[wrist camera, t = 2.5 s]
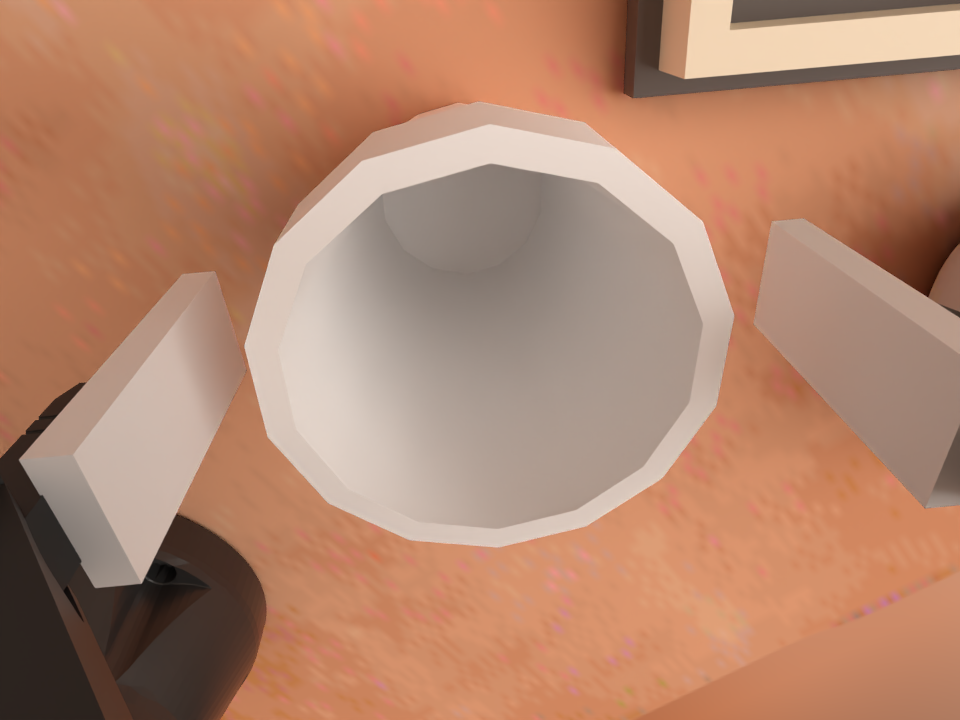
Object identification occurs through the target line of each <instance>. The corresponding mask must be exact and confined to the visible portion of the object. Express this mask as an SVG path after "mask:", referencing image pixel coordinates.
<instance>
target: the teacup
mask: <svg viewBox="0 0 960 720" xmlns="http://www.w3.org/2000/svg"><path fill="white" fill-rule="evenodd" d="M928 298H929V299H931V300H933V301H934V302H936V303H938V304H940V305H943V306H946V307H948V308H951V309H954V310H957V311H959V312H960V243H959V244H958V245H957V247H956V248H955V249H954V250H953V251H952V253H951V254H950V255H949V257H948V258H947V260H946V261H945V263H944V265H943V266H942V268H941V270H940V271H939V274H938V276H937V278H936V280H935V282H934V284H933V287H932V289H931V292H930V294H929V297H928Z"/></svg>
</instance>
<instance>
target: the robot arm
mask: <svg viewBox="0 0 960 720" xmlns="http://www.w3.org/2000/svg"><path fill="white" fill-rule="evenodd" d="M753 324H754V325H755V326H756V328H757V329H758V330H759V331H760V332H761V333H762V334H763V335H764V336H765V337H766V338H767V339H768V340H769V342H770V343H771V344H772V345H773V346H774V347H775V348H776V349H777V350H778V351H779V352H780V353H781V354H782V355H783V357H784V358H785V359H786V360H787V361H788V362H789V363H790V364H791V365H792V366H793V367H794V368H795V369H796V370H797V372H798V373H799V374H800V375H801V376H802V377H803V378H804V379H805V380H806V381H807V382H808V383H809V384H810V385H811V387H812V388H813V389H814V390H815V391H816V392H817V393H818V394H819V395H820V396H821V397H822V398H823V399H824V401H825V402H826V403H827V404H828V405H829V406H830V407H831V408H832V409H833V410H834V411H835V412H836V413H837V414H838V416H839V417H840V418H841V419H842V420H843V421H844V422H845V423H846V424H847V425H848V426H849V427H850V428H851V429H852V431H853V432H854V433H855V434H856V435H857V436H858V437H859V438H860V439H861V440H862V441H863V442H864V443H865V445H866V446H867V447H868V448H869V449H870V450H871V451H872V452H873V453H874V454H875V455H876V456H877V457H878V458H879V460H880V461H881V462H882V463H883V464H884V465H885V466H886V467H887V468H888V469H889V470H890V471H891V472H892V473H893V475H894V476H895V477H896V478H897V479H898V480H899V481H900V482H901V483H902V484H903V485H904V486H905V487H906V489H907V490H908V491H909V492H910V493H911V494H912V495H913V496H914V497H915V498H916V499H917V500H918V501H919V502H920V504H921V505H922V506H923V507H924V508H935V507H945V506H956V505H960V312H959V311H957V310H954V309H951V308H948V307H946V306H943V305H940V304H938V303H936V302H934V301H933V300H931V299H929V298H928V297H926V296H925V295H923V294H922V293H920V292H918V291H917V290H915V289H914V288H912V287H911V286H909V285H907V284H906V283H904V282H903V281H901V280H900V279H898V278H896V277H895V276H893V275H892V274H890V273H889V272H887V271H885V270H884V269H882V268H881V267H879V266H878V265H876V264H874V263H873V262H871V261H870V260H868V259H867V258H865V257H864V256H862V255H860V254H859V253H857V252H856V251H854V250H853V249H851V248H849V247H848V246H846V245H845V244H843V243H842V242H840V241H838V240H837V239H835V238H834V237H832V236H831V235H829V234H827V233H826V232H824V231H823V230H821V229H820V228H818V227H816V226H815V225H813V224H812V223H810V222H809V221H807V220H805V219H804V218H803V219H791V220H780V221H772V222H771V228H770V233H769V239H768V245H767V250H766V256H765V261H764V267H763V273H762V278H761V284H760V289H759V295H758V301H757V306H756V312H755V318H754V323H753ZM246 371H247V370H246V366H245V363H244V360H243V357H242V354H241V351H240V347H239V344H238V341H237V338H236V335H235V332H234V328H233V325H232V322H231V319H230V316H229V313H228V309H227V306H226V303H225V300H224V297H223V294H222V290H221V287H220V284H219V281H218V278H217V275H216V271H210V272H199V273H187V274H182V275H181V276H180V277H179V278H178V280H177V281H176V282H175V283H174V284H173V285H172V286H171V288H170V289H169V290H168V291H167V292H166V293H165V294H164V295H163V297H162V298H161V299H160V300H159V301H158V302H157V303H156V305H155V306H154V307H153V308H152V309H151V310H150V311H149V313H148V314H147V315H146V316H145V317H144V318H143V319H142V320H141V322H140V323H139V324H138V325H137V326H136V327H135V328H134V330H133V331H132V332H131V333H130V334H129V335H128V336H127V337H126V339H125V340H124V341H123V342H122V343H121V344H120V345H119V347H118V348H117V349H116V350H115V351H114V352H113V353H112V355H111V356H110V357H109V358H108V359H107V360H106V361H105V362H104V364H103V365H102V366H101V367H100V368H99V369H98V370H97V372H96V373H95V374H94V375H93V376H92V377H91V378H90V379H89V381H88V382H86V383H79V384H78V385H76V386H74V387H73V388H71V389H70V390H68V391H67V392H65V393H64V394H62V395H61V396H59V397H58V398H56V399H55V400H54V401H53V402H52V403H51V404H50V405H49V406H48V407H47V408H46V410H45V411H44V412H43V413H42V414H41V415H40V416H39V420H35V421H34V423H33V424H32V425H31V426H30V427H29V428H28V429H27V430H26V435H22V436H21V437H20V438H19V439H18V440H17V441H16V442H15V443H14V444H13V445H12V446H11V447H10V449H9V450H8V451H7V452H6V453H5V454H4V455H3V456H2V457H1V458H0V720H220V719H221V717H222V716H223V714H224V712H225V711H226V709H227V708H228V706H229V704H230V703H231V701H232V699H233V698H234V696H235V695H236V693H237V691H238V690H239V688H240V687H241V685H242V684H243V682H244V681H245V679H246V678H247V676H248V674H249V673H250V671H251V669H252V666H253V664H254V662H255V659H256V656H257V652H258V649H259V645H260V641H261V637H262V633H263V629H264V625H265V621H266V600H265V596H264V592H263V589H262V587H261V584H260V582H259V580H258V578H257V576H256V575H255V573H254V572H253V570H252V569H251V567H250V566H249V565H248V564H247V562H246V561H245V560H244V559H243V558H242V557H241V556H240V555H239V554H238V553H237V552H236V551H235V550H234V549H233V548H232V547H231V546H229V545H228V544H227V543H226V542H224V541H223V540H222V539H220V538H219V537H217V536H216V535H215V534H213V533H211V532H210V531H208V530H206V529H205V528H203V527H201V526H199V525H197V524H195V523H193V522H191V521H189V520H187V519H185V518H183V517H180V516H178V515H176V513H177V511H178V509H179V507H180V505H181V503H182V501H183V499H184V497H185V495H186V493H187V491H188V489H189V487H190V485H191V483H192V481H193V479H194V476H195V474H196V472H197V470H198V468H199V466H200V464H201V462H202V460H203V458H204V456H205V454H206V452H207V450H208V448H209V446H210V444H211V442H212V440H213V438H214V436H215V434H216V432H217V430H218V428H219V426H220V424H221V422H222V420H223V418H224V416H225V414H226V412H227V410H228V408H229V406H230V404H231V402H232V399H233V397H234V395H235V393H236V391H237V389H238V387H239V385H240V383H241V381H242V379H243V377H244V375H245V373H246Z"/></svg>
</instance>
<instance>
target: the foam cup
mask: <svg viewBox="0 0 960 720" xmlns="http://www.w3.org/2000/svg"><path fill="white" fill-rule="evenodd" d="M733 320H734V313H733V310H732V307H731V304H730V301H729V298H728V295H727V292H726V289H725V286H724V283H723V280H722V277H721V274H720V271H719V268H718V265H717V262H716V259H715V256H714V253H713V250H712V247H711V244H710V241H709V238H708V235H707V232H706V229H705V226H704V223H703V221H701V220H700V219H699V218H698V217H697V216H696V215H694V214H693V213H692V212H691V211H690V210H688V209H687V208H686V207H685V206H684V205H683V204H681V203H680V202H679V201H678V200H677V199H675V198H674V197H673V196H672V195H671V194H669V193H668V192H667V191H666V190H665V189H664V188H662V187H661V186H660V185H659V184H658V183H656V182H655V181H654V180H653V179H652V178H650V177H649V176H648V175H647V174H646V173H645V172H643V171H642V170H641V169H640V168H639V167H637V166H636V165H635V164H634V163H633V162H631V161H630V160H629V159H628V158H627V157H626V156H624V155H623V154H622V153H621V152H620V151H618V150H617V149H616V148H615V147H614V146H612V145H611V144H610V143H609V142H608V141H606V140H605V139H604V138H603V137H602V136H600V135H599V134H598V133H597V132H596V131H594V130H593V129H592V128H591V127H590V126H588V125H587V124H586V123H585V122H580V121H575V120H570V119H565V118H560V117H555V116H550V115H545V114H540V113H535V112H530V111H525V110H520V109H515V108H510V107H505V106H500V105H495V104H490V103H485V102H480V101H478V102H474V103H471V104H464V103H455V104H452V105H448V106H445V107H441V108H438V109H435V110H431V111H428V112H424V113H421V114H418V115H416V116H415V117H413V118H412V119H410V120H409V121H407V122H406V123H402V124H399V125H395V126H392V127H389V128H385V129H382V130H378V131H375V132H372V133H371V134H370V135H369V136H368V137H367V138H366V139H365V140H364V141H363V142H362V143H361V144H360V145H359V146H358V147H357V148H356V149H355V150H354V151H353V152H352V153H351V154H350V155H349V156H348V157H346V158H345V159H344V160H343V161H342V162H341V163H340V164H339V165H338V166H337V167H336V168H335V169H334V170H333V171H332V172H331V173H330V174H329V175H328V176H327V177H326V178H325V179H324V180H323V181H322V182H321V183H320V184H319V185H318V186H316V187H315V188H314V189H313V190H312V191H311V192H310V193H309V194H308V195H307V196H306V197H305V198H304V199H303V200H302V201H301V202H300V203H299V204H298V205H297V207H296V209H295V210H294V212H293V214H292V215H291V217H290V219H289V220H288V222H287V224H286V225H285V227H284V229H283V231H282V232H281V234H280V236H279V237H278V239H277V241H276V242H275V244H274V246H273V250H272V253H271V256H270V260H269V263H268V267H267V270H266V273H265V277H264V280H263V284H262V287H261V291H260V294H259V297H258V301H257V304H256V308H255V311H254V314H253V318H252V321H251V325H250V328H249V331H248V335H247V338H246V342H245V345H244V347H245V351H246V355H247V359H248V363H249V367H250V371H251V374H252V378H253V382H254V386H255V390H256V394H257V398H258V401H259V405H260V409H261V413H262V417H263V421H264V425H265V428H266V432H267V436H268V438H269V439H270V440H271V441H272V442H273V443H274V445H275V446H276V447H277V448H278V449H279V450H280V451H281V452H282V453H283V454H284V455H285V457H286V458H287V459H288V460H289V461H290V462H291V463H292V464H293V465H294V466H295V468H296V469H297V470H298V471H299V472H300V473H301V474H302V475H303V476H304V477H305V478H306V480H307V481H308V482H309V483H310V484H311V485H312V486H313V487H314V488H315V489H316V491H317V492H318V493H319V494H320V495H321V496H322V497H323V498H324V499H325V500H326V502H327V503H328V504H331V505H333V506H335V507H337V508H340V509H342V510H344V511H346V512H348V513H351V514H353V515H355V516H357V517H359V518H362V519H364V520H366V521H368V522H370V523H373V524H375V525H377V526H379V527H381V528H384V529H386V530H388V531H390V532H392V533H395V534H397V535H399V536H401V537H403V538H406V539H408V540H413V541H425V542H438V543H450V544H462V545H474V546H487V547H503V546H507V545H511V544H515V543H519V542H523V541H528V540H532V539H536V538H540V537H544V536H548V535H552V534H557V533H561V532H565V531H569V530H573V529H577V528H581V527H586V526H587V525H589V524H591V523H592V522H594V521H595V520H597V519H599V518H600V517H602V516H603V515H605V514H606V513H608V512H610V511H611V510H613V509H614V508H616V507H618V506H619V505H621V504H622V503H624V502H626V501H627V500H629V499H630V498H632V497H633V496H635V495H637V494H638V493H640V492H641V491H643V490H645V489H646V488H648V487H649V486H651V485H652V484H654V483H656V482H657V481H659V480H660V479H662V478H663V477H664V475H665V474H666V473H667V471H668V470H669V469H670V467H671V466H672V465H673V463H674V462H675V461H676V459H677V458H678V457H679V455H680V454H681V453H682V451H683V450H684V449H685V447H686V446H687V445H688V443H689V442H690V440H691V439H692V438H693V436H694V435H695V434H696V432H697V431H698V430H699V428H700V427H701V426H702V424H703V423H704V422H705V420H706V419H707V418H708V416H709V415H710V414H711V412H712V411H713V410H714V408H715V407H716V405H717V400H718V395H719V390H720V385H721V380H722V375H723V370H724V365H725V360H726V355H727V350H728V345H729V340H730V335H731V330H732V325H733Z"/></svg>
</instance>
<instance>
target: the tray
mask: <svg viewBox="0 0 960 720" xmlns="http://www.w3.org/2000/svg"><path fill="white" fill-rule="evenodd" d="M955 69H960V0H628V6H627V29H626V51H625V74H624V94H626V95H628V96H630V97H632V98H642V97H653V96H664V95H676V94H687V93H698V92H709V91H720V90H732V89H743V88H754V87H765V86H776V85H787V84H799V83H810V82H821V81H832V80H843V79H855V78H866V77H877V76H888V75H899V74H910V73H922V72H933V71H944V70H955Z"/></svg>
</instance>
